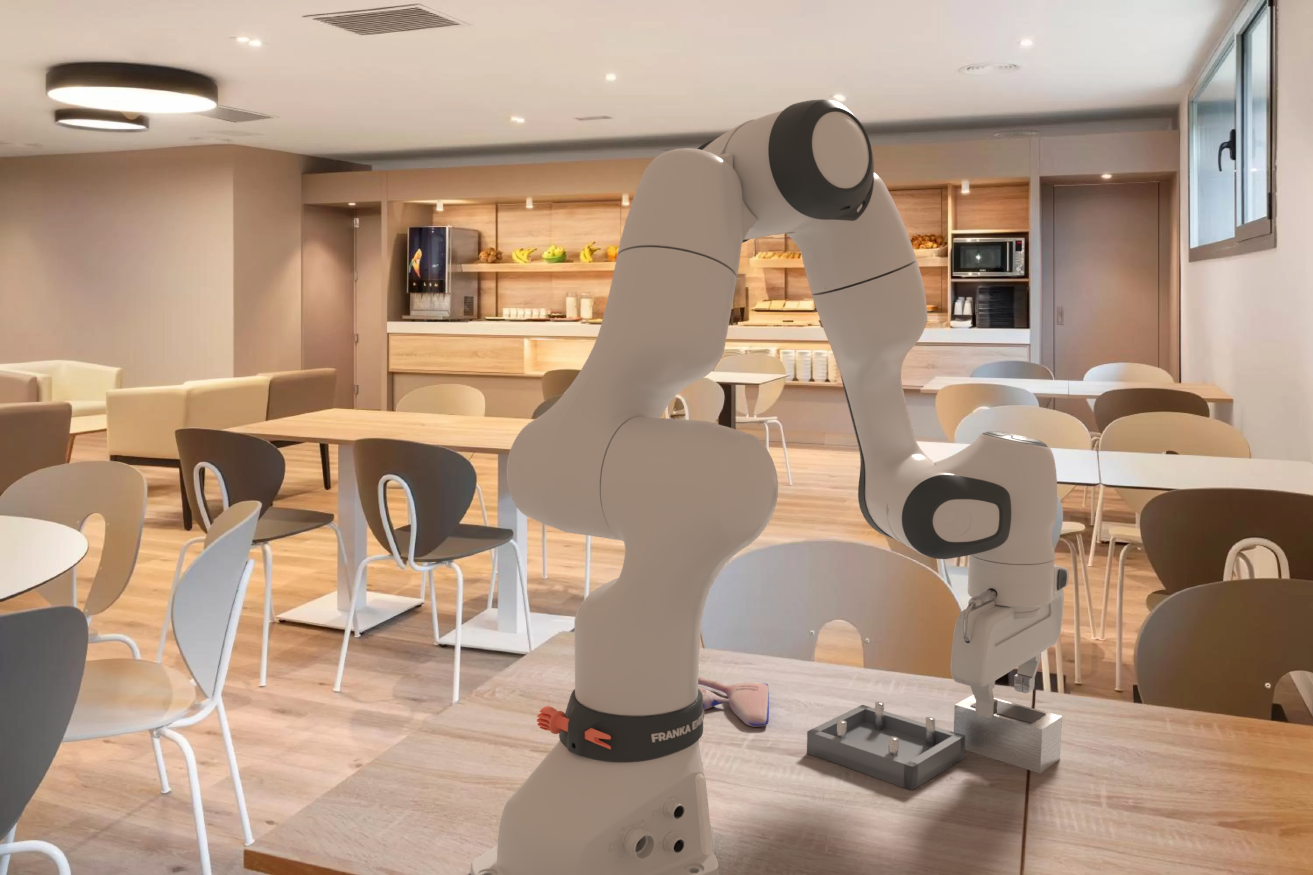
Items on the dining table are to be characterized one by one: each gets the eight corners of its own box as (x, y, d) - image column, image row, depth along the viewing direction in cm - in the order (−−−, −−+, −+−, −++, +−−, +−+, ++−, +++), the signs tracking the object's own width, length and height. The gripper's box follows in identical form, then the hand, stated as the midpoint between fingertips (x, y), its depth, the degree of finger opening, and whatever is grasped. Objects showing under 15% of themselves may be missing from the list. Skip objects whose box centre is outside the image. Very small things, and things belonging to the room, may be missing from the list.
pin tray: (912, 790, 107) (913, 752, 106) (806, 753, 116) (807, 718, 115) (964, 757, 115) (966, 722, 114) (862, 724, 124) (863, 692, 123)
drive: (1040, 774, 111) (1042, 728, 110) (953, 747, 118) (954, 703, 117) (1059, 760, 115) (1062, 715, 114) (974, 734, 122) (976, 691, 121)
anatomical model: (768, 735, 122) (769, 689, 137) (769, 711, 122) (770, 667, 137) (595, 724, 125) (614, 680, 140) (595, 700, 124) (615, 658, 139)
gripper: (995, 607, 105) (990, 739, 107) (1075, 567, 120) (1070, 684, 122) (937, 595, 109) (933, 723, 111) (1021, 558, 124) (1017, 671, 126)
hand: (1005, 702), depth 117 cm, fingers open, 8 cm apart
